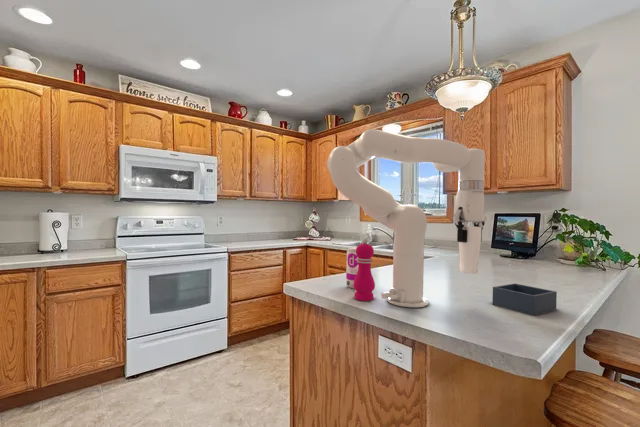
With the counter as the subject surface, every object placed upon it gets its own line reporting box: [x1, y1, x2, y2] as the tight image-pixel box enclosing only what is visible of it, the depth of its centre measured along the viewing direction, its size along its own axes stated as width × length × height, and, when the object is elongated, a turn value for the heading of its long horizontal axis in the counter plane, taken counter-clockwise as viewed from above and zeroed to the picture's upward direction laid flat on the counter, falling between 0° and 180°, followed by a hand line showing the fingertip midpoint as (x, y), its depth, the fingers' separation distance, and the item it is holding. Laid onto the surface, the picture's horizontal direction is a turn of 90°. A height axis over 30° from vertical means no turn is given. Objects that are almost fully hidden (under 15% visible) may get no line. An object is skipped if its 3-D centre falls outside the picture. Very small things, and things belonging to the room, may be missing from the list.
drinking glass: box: [458, 225, 482, 275], centre depth 103 cm, size 7×7×15 cm
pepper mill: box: [353, 238, 376, 302], centre depth 106 cm, size 7×7×20 cm
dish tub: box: [491, 283, 558, 316], centre depth 99 cm, size 13×13×6 cm
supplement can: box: [345, 246, 358, 289], centre depth 123 cm, size 8×8×15 cm
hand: (469, 241), depth 103 cm, fingers closed on drinking glass, 6 cm apart
